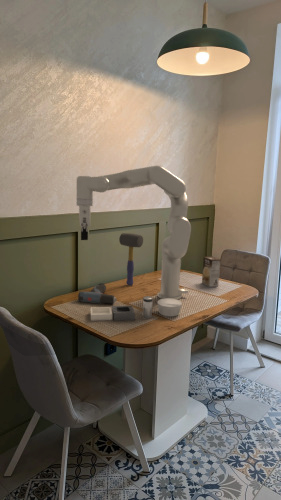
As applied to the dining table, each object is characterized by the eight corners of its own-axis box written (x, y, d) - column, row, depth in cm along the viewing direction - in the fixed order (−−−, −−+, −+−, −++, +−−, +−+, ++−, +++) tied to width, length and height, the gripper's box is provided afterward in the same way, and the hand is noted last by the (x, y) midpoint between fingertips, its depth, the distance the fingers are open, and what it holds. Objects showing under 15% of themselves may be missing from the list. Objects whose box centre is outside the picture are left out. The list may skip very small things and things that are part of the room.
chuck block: (131, 312, 162) (131, 305, 161) (134, 320, 153) (134, 312, 153) (111, 313, 160) (111, 306, 160) (113, 320, 152) (113, 313, 151)
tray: (110, 312, 161) (110, 306, 161) (112, 320, 153) (112, 314, 152) (90, 312, 160) (90, 307, 159) (91, 320, 151) (91, 314, 151)
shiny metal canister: (150, 315, 160) (151, 296, 158) (152, 318, 155) (153, 299, 154) (141, 315, 159) (142, 296, 157) (143, 319, 155) (144, 299, 153)
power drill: (125, 294, 189) (114, 307, 169) (91, 291, 192) (77, 303, 173) (125, 284, 188) (115, 296, 168) (91, 281, 191) (77, 292, 172)
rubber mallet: (142, 286, 204) (144, 233, 198) (135, 289, 198) (137, 235, 192) (124, 282, 210) (126, 231, 205) (117, 285, 204) (118, 232, 198)
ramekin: (163, 319, 156) (164, 307, 155) (152, 310, 166) (153, 299, 165) (185, 316, 161) (186, 304, 160) (173, 307, 171) (174, 297, 170)
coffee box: (201, 282, 215) (203, 256, 212) (210, 282, 217) (212, 256, 214) (209, 287, 207) (211, 260, 204) (219, 286, 209) (221, 259, 206)
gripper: (93, 204, 162) (92, 241, 165) (92, 201, 178) (91, 235, 182) (76, 203, 160) (76, 241, 164) (76, 201, 177) (76, 235, 180)
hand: (84, 238), depth 173 cm, fingers open, 9 cm apart
